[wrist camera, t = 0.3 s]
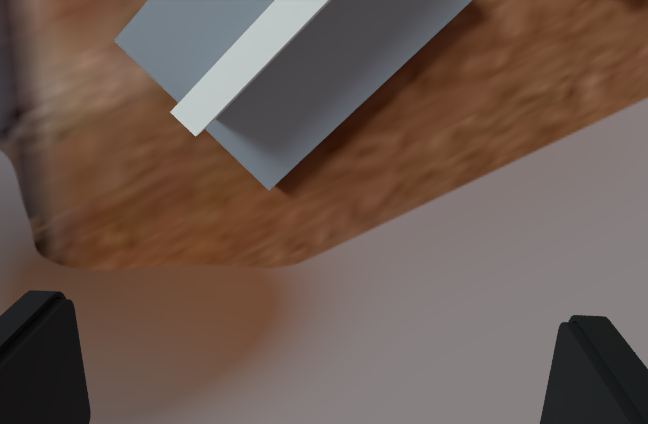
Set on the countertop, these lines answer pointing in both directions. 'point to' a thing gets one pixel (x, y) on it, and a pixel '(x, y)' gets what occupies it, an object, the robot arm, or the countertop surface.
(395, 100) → the countertop surface
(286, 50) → the stand
